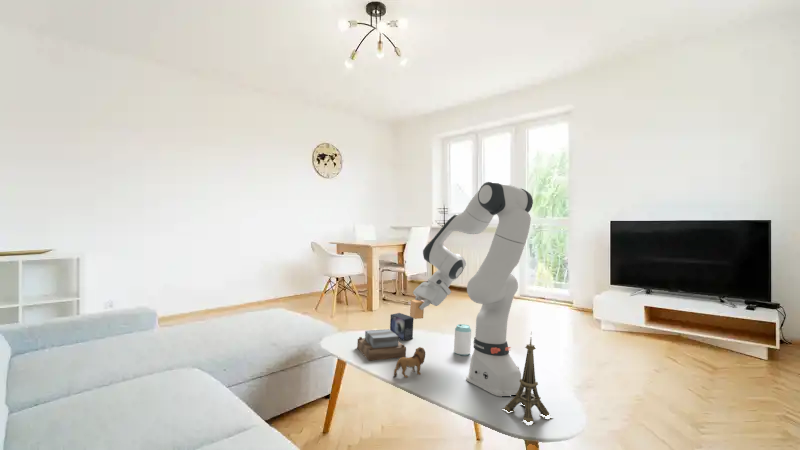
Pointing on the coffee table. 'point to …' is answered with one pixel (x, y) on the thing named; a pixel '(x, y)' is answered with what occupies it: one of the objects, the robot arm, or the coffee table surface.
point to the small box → (402, 326)
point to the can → (462, 339)
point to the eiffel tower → (528, 389)
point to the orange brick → (416, 309)
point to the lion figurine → (411, 362)
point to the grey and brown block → (381, 345)
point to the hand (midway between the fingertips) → (416, 307)
